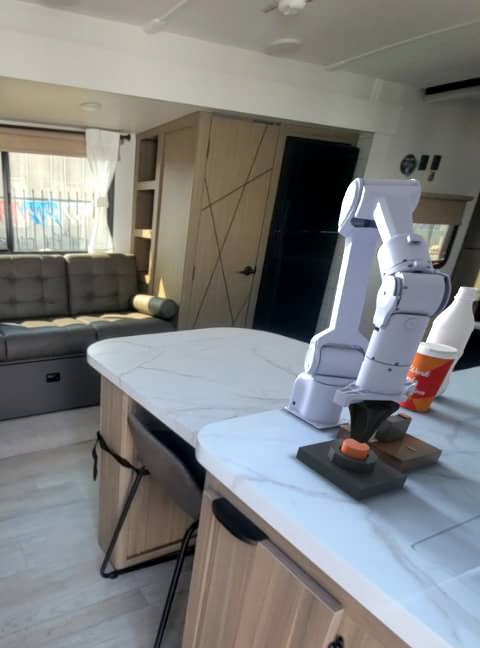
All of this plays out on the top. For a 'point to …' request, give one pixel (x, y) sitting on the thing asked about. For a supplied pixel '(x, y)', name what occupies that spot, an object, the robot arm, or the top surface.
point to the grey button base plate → (351, 469)
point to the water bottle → (454, 327)
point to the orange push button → (355, 449)
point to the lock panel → (399, 450)
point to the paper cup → (428, 374)
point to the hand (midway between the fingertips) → (358, 439)
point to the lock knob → (393, 427)
